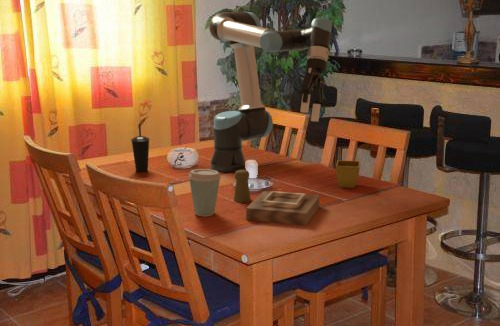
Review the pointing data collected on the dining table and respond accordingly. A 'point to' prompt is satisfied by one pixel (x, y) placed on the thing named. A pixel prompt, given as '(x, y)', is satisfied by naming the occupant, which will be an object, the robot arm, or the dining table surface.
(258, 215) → the walnut stand
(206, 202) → the disposable coffee cup
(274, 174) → the dining table surface
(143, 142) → the drinking cup
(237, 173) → the pepper mill
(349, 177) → the flower pot
